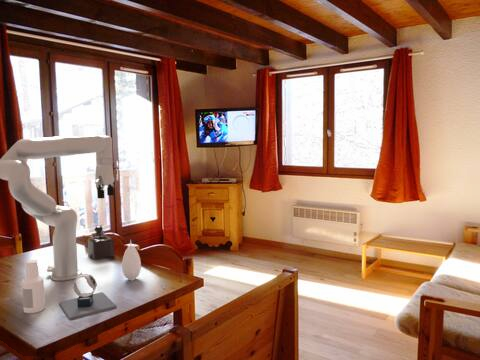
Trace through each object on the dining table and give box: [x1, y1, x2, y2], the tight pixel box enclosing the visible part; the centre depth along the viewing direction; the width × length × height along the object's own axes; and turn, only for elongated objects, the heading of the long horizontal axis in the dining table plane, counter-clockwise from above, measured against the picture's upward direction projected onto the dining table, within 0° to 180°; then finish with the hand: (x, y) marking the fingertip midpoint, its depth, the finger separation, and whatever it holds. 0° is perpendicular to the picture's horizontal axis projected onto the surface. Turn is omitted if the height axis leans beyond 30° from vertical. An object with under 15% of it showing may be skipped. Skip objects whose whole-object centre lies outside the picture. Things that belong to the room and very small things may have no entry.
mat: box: [58, 291, 117, 320], centre depth 144 cm, size 16×16×1 cm
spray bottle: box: [21, 259, 46, 314], centre depth 140 cm, size 7×7×18 cm
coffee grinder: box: [87, 224, 115, 261], centre depth 203 cm, size 16×11×18 cm
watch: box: [72, 273, 98, 308], centre depth 143 cm, size 6×8×11 cm
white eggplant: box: [121, 239, 142, 281], centre depth 170 cm, size 8×8×18 cm
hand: (105, 196), depth 190 cm, fingers open, 9 cm apart
